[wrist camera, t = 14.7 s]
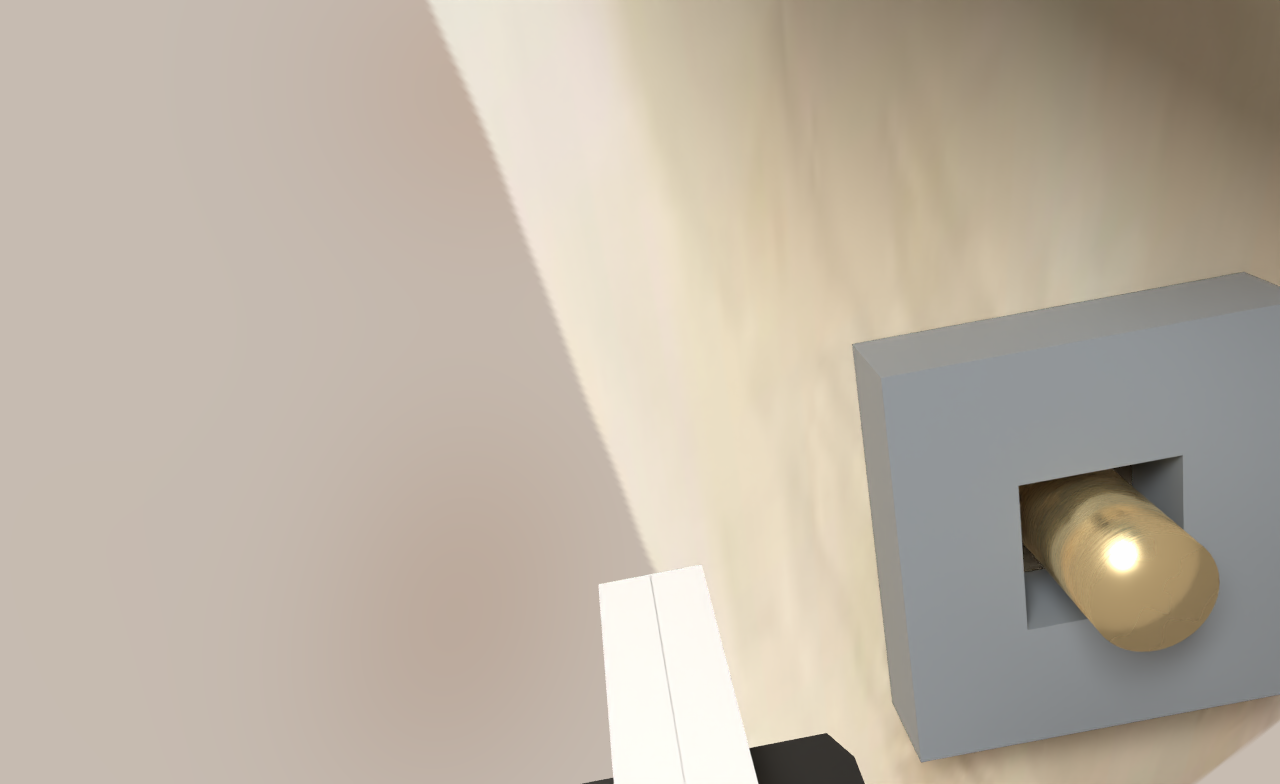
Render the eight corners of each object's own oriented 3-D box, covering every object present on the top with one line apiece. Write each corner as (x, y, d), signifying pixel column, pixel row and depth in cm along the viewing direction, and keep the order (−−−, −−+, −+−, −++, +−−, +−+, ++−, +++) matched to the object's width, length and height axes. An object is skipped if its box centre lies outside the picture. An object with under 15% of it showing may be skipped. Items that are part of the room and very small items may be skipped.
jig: (852, 344, 43) (880, 377, 40) (1243, 271, 44) (1309, 298, 40) (892, 702, 49) (921, 762, 45) (1241, 636, 49) (1298, 691, 45)
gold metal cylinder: (997, 455, 45) (1087, 548, 38) (1107, 434, 45) (1218, 522, 38) (1005, 554, 47) (1093, 662, 39) (1112, 533, 47) (1220, 637, 39)
